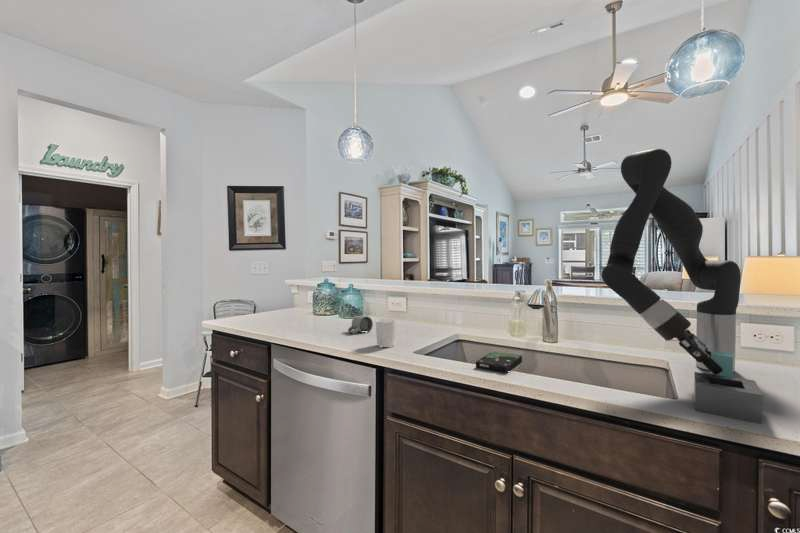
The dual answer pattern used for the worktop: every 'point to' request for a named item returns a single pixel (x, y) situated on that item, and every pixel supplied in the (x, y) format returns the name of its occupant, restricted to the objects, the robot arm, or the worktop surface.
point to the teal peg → (723, 363)
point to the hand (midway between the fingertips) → (718, 368)
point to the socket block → (728, 397)
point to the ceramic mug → (361, 324)
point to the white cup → (385, 332)
